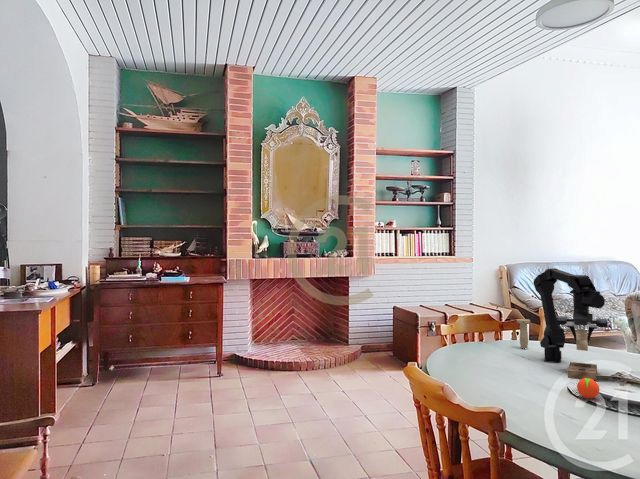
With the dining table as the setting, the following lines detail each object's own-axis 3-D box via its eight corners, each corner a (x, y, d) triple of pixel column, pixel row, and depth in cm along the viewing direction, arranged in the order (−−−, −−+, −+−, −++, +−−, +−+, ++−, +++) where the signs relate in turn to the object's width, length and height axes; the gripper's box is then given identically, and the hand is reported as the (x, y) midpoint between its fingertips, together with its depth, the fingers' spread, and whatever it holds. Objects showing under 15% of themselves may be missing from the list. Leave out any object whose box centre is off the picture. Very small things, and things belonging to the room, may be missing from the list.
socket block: (567, 377, 190) (567, 370, 190) (570, 368, 203) (570, 361, 203) (596, 380, 185) (596, 373, 185) (597, 371, 198) (596, 364, 198)
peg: (576, 349, 197) (576, 330, 197) (577, 347, 200) (576, 329, 200) (587, 350, 195) (587, 331, 195) (587, 348, 198) (587, 329, 198)
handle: (531, 350, 239) (530, 320, 239) (517, 349, 241) (516, 320, 241) (530, 348, 243) (530, 319, 243) (517, 347, 246) (516, 318, 246)
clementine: (599, 403, 160) (598, 382, 160) (576, 400, 164) (575, 379, 164) (599, 396, 167) (599, 376, 167) (577, 393, 171) (577, 374, 171)
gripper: (554, 306, 195) (555, 343, 195) (606, 309, 186) (608, 348, 186) (557, 303, 205) (558, 338, 205) (606, 305, 195) (608, 342, 195)
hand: (582, 342), depth 197 cm, fingers closed on peg, 4 cm apart
